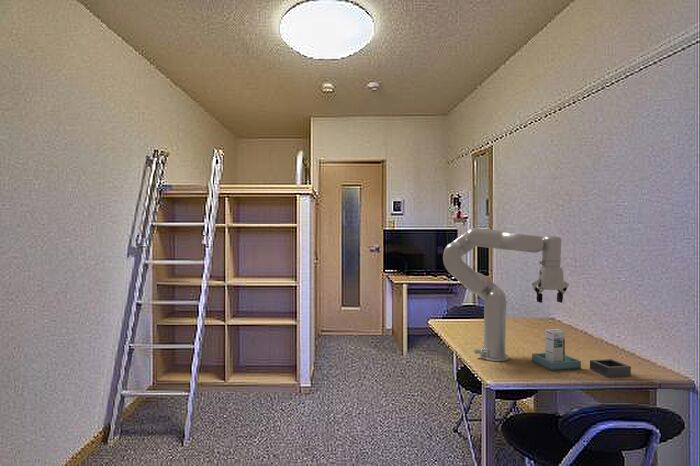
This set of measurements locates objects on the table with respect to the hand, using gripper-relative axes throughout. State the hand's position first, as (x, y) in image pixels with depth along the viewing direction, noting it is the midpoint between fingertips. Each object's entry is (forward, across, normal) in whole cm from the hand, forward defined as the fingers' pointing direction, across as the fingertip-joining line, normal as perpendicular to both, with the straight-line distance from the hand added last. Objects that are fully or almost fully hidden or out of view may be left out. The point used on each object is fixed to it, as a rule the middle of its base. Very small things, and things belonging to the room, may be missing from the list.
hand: (549, 302), depth 202 cm
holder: (+27, +18, -17) cm, 36 cm away
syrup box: (+26, +1, -4) cm, 27 cm away
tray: (+27, +1, -4) cm, 27 cm away
